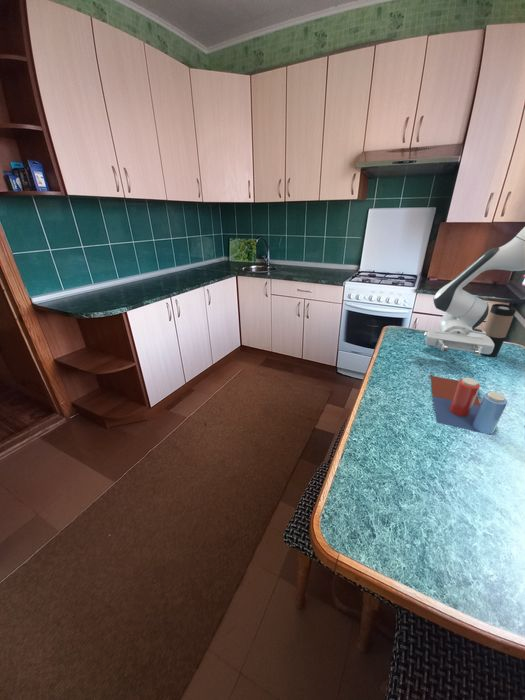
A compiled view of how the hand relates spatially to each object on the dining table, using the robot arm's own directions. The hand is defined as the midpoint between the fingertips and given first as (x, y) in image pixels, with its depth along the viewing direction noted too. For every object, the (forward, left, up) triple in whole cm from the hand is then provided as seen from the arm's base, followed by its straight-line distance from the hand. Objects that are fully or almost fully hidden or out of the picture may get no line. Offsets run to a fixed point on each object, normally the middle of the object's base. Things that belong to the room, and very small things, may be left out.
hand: (460, 351), depth 96 cm
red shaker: (0, +19, -11) cm, 22 cm away
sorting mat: (0, +13, -12) cm, 18 cm away
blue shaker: (-5, +24, -11) cm, 27 cm away
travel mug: (-16, -29, -12) cm, 36 cm away
